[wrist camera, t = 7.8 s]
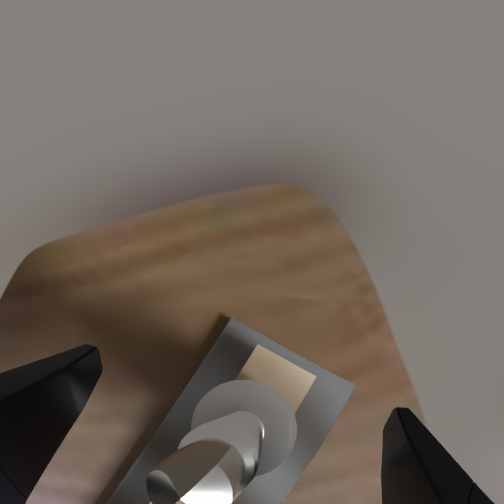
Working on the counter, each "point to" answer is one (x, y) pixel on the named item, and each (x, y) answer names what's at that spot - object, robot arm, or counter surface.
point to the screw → (226, 445)
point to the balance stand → (256, 369)
